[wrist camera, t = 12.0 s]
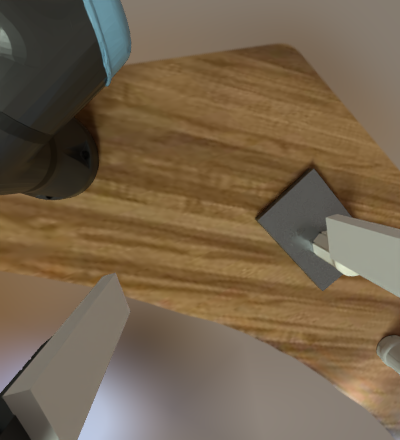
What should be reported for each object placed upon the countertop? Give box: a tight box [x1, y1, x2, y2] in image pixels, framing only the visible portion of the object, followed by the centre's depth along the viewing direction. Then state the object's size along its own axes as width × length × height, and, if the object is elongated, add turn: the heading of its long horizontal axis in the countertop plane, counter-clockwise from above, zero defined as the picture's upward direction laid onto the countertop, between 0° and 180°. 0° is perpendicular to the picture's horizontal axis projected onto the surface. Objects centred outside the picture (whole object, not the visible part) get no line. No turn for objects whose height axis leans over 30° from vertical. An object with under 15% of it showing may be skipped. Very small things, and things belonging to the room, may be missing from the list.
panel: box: [255, 168, 351, 291], centre depth 38 cm, size 22×14×6 cm, turn 44°
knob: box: [313, 231, 359, 276], centre depth 36 cm, size 6×6×7 cm
